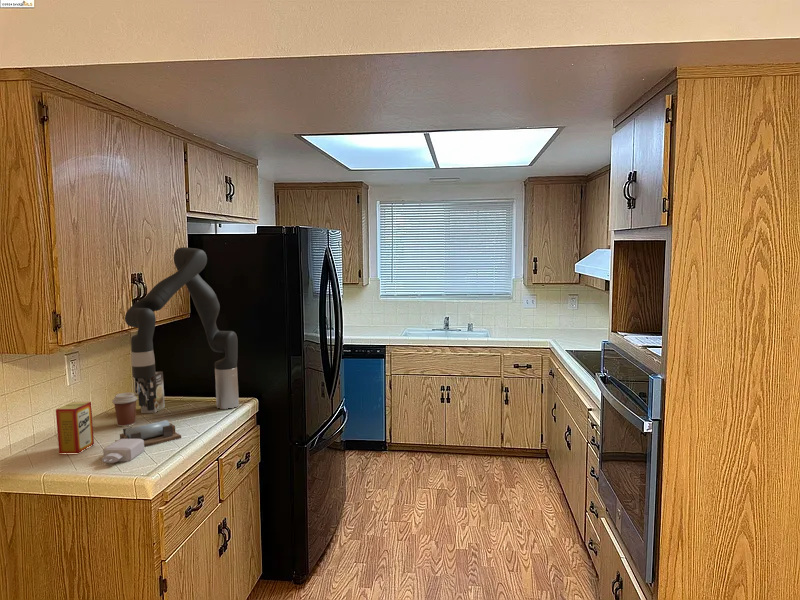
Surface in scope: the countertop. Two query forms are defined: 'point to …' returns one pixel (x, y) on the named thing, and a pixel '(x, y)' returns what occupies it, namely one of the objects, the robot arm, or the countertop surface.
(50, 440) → the countertop surface
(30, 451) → the countertop surface
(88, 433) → the baking soda box
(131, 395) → the coffee cup
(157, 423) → the cylinder
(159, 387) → the coffee box
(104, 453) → the charger
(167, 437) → the walnut holder
